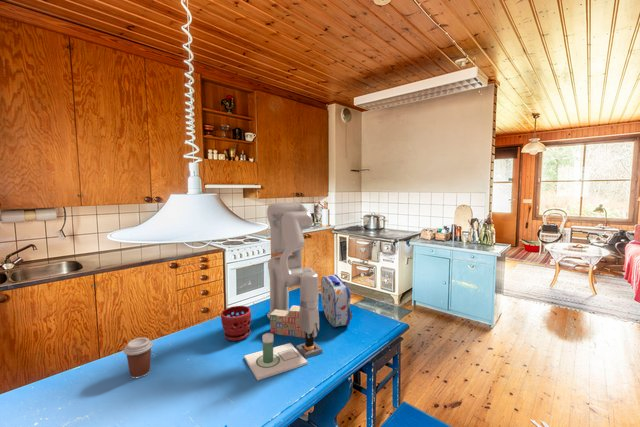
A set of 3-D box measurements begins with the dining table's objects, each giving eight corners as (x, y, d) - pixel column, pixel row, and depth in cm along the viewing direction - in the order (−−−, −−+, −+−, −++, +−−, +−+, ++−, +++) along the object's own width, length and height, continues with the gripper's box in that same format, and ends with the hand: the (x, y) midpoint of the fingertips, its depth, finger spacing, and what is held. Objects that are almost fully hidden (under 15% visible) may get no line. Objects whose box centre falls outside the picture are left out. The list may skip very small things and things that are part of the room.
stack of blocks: (269, 333, 144) (269, 308, 143) (275, 327, 150) (274, 302, 149) (314, 339, 139) (314, 313, 137) (318, 333, 145) (318, 307, 143)
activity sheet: (244, 357, 124) (244, 355, 124) (290, 345, 134) (290, 342, 134) (257, 380, 110) (257, 377, 110) (307, 364, 120) (307, 361, 120)
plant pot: (245, 326, 150) (245, 302, 149) (255, 338, 139) (255, 312, 138) (218, 333, 143) (217, 308, 142) (226, 346, 132) (225, 319, 131)
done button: (302, 348, 130) (302, 344, 130) (311, 346, 132) (311, 341, 132) (307, 353, 127) (307, 348, 126) (315, 350, 129) (315, 346, 128)
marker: (261, 359, 121) (261, 334, 120) (271, 356, 123) (271, 332, 122) (264, 364, 117) (264, 339, 116) (275, 361, 120) (275, 336, 118)
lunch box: (354, 330, 147) (355, 285, 145) (334, 333, 144) (334, 287, 142) (336, 307, 173) (337, 269, 171) (318, 309, 171) (318, 270, 168)
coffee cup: (123, 383, 108) (121, 351, 106) (127, 369, 116) (125, 338, 115) (153, 377, 112) (151, 345, 110) (154, 363, 120) (153, 333, 119)
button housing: (296, 348, 131) (296, 345, 131) (313, 343, 135) (313, 340, 135) (305, 358, 124) (305, 354, 124) (322, 352, 128) (322, 349, 128)
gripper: (293, 298, 132) (293, 339, 133) (309, 311, 119) (309, 356, 121) (309, 295, 135) (309, 335, 137) (326, 307, 122) (326, 351, 124)
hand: (309, 345), depth 129 cm, fingers closed
